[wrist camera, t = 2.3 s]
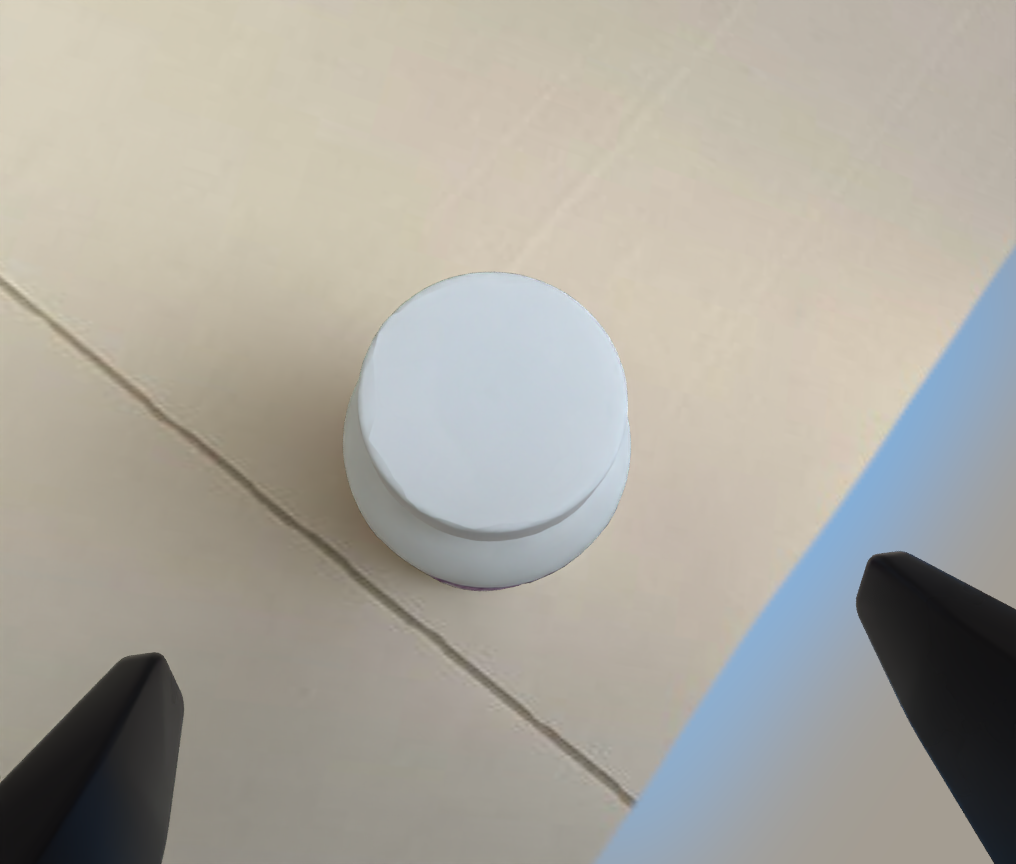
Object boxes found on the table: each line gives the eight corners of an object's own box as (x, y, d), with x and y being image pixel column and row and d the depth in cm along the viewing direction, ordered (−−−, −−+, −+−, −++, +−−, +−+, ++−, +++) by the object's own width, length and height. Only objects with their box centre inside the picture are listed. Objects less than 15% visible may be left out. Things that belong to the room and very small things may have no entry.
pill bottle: (609, 459, 20) (742, 337, 10) (516, 628, 19) (572, 662, 9) (446, 366, 20) (433, 166, 11) (345, 525, 19) (230, 457, 10)
